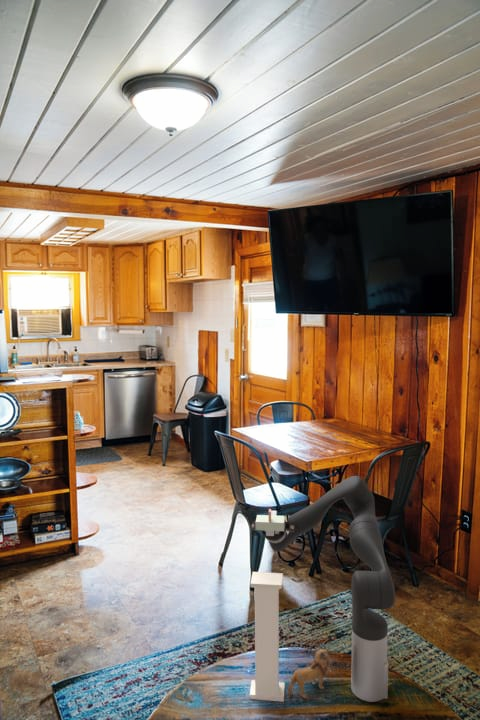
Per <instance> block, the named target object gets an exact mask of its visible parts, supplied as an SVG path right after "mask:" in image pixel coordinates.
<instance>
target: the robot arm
mask: <svg viewBox="0 0 480 720" xmlns="http://www.w3.org/2000/svg"><path fill="white" fill-rule="evenodd" d="M339 500H343V501H344V503H345V504H346V505H347V506H348V508H349V509H350V511H351V513H352V516H353V519H352V521H351V523H350V524H349V527H348V536H349V542H350V547H351V550H352V551H353V553H354V554H355V555H356V557H358V559H360V560H361V561H362V562H363V563H364V564H365V565H367V567H369V569H371V570H355V571H354V572H353V573H352V576H351V600H352V601H351V604H352V606H351V609H352V610H351V611H352V614H351V616H352V617H351V618H352V619H351V658H350V659H351V660H350V661H351V663H350V664H351V667H350V669H351V670H350V674H351V675H350V677H351V678H350V689H351V691H352V694H353V695H354V696H356V697H357V698H358V699H360V700H362V701H365V702H369V703H372V702H373V703H375V702H379V701H382V700H384V699H386V700H387V699H388V698H389V697H388V695H389V693H388V691H389V685H388V684H389V662H388V634H389V631H388V629H389V628H388V627H389V625H388V622H387V620H386V618H385V617H384V616H383V615H381V614H380V613H378V612H376V611H374V610H389V609H392V608H393V607H394V605H395V603H396V602H395V601H396V591H395V585H394V581H393V577H392V574H391V571H390V568H389V566H388V563H387V559H386V556H385V549H384V545H383V540H382V535H381V530H380V527H379V523H378V520H377V516H376V506H375V504H376V503H375V496H374V495H373V492H372V490H371V489H370V488H369V487H368V485H367V484H366V482H365V480H364V479H363V478H362V477H361V476H359V475H352V476H349V477H347V478H345V479H344V480H342V481H340V483H338V484H336V485H335V486H334V487H333V488H331V489H330V490H329V491H327V492H326V493H324V495H322V496H321V497H319V498H318V499H317V500H316V501H313V503H311V504H310V505H308V506H306V507H304V508H302V509H301V510H299V511H297V512H295V513H293V514H291V515H290V516H288V518H287V521H285V525H284V531H274V536H266V530H260V531H261V533H262V535H263V536H264V539H265V540H267V541H268V543H269V546H270V547H271V550H273V551H275V552H282V551H284V550H286V549H287V548H288V547H289V546H290V545H291V544H292V543H293V542H294V541H295V540H296V539H297V538H299V536H302V534H303V535H304V533H307V532H308V531H310V530H312V529H314V528H316V527H317V526H318V525H319V524H320V523H321V522H322V521H323V519H324V518H325V516H326V514H327V512H328V510H329V509H330V508H331V507H332V506H333V505H334V503H336V502H338V501H339ZM251 531H257V530H256V520H253V521H251Z"/></svg>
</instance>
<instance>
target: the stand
mask: <svg viewBox="0 0 480 720" xmlns="http://www.w3.org/2000/svg"><path fill="white" fill-rule="evenodd" d="M283 577H284V573H281V572H264V571H252V574H251V578H250V579H251V580H250V582H249V583H250V588H254V652H255V653H254V664H255V665H254V674H255V675H254V679H251V682H250V690H249V700H257V701H258V700H259V701H270V702H272V701H273V702H283V703H284V702H285V689H286V687H285V685H286V684H285V682H284V681H280V666H279V665H280V652H279V651H280V648H279V647H280V644H279V643H280V629H279V627H280V625H279V622H280V621H279V620H280V618H279V617H280V615H279V613H280V611H279V609H280V607H279V606H280V602H279V601H280V599H279V595H280V590H282V588H283V579H284V578H283Z"/></svg>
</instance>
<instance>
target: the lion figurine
mask: <svg viewBox="0 0 480 720" xmlns="http://www.w3.org/2000/svg"><path fill="white" fill-rule="evenodd" d="M327 651H328V650H326V649H323V648H320V649H318V650H317V651H316V652H314V654H315V656H314V657H313V658H314V659H313V662H312V664H310V666H308V667H305V668H298V669H296V670H295V671H294V672H293V673H292V677H291V679H290V684H289V685H288V687H287V694H288V695H289V696H288V698H287V699H288V700H287V701H288V702H289V701H291V698H292V696H293V691H292V690H293V687H294V686H295V685H296V684H297V685H298V689H299V690H298V694H299V695H300V696H301V697H302V698H303V699H307V698H308V695H307V694H306V693H304V688H305V687H306V686H305V685H306V684H305V683H310V682H311V684H312V685H316V684H317V680H318V687H319V689H320V690H324V689H325V686H324V685H323V682H324V676H325V675H327V673H328V670H329V667H330V666H329V664H330V655H329V653H328V652H327Z"/></svg>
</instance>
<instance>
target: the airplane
mask: <svg viewBox="0 0 480 720" xmlns="http://www.w3.org/2000/svg"><path fill="white" fill-rule="evenodd" d="M277 514H278V513H277V510H272V509H271V508H268V514H267V515H266V514H256V519H255V521H256V530H255V531H261V530H266V536H274V531H284V525H285V519H286V517H285V515H277Z"/></svg>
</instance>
